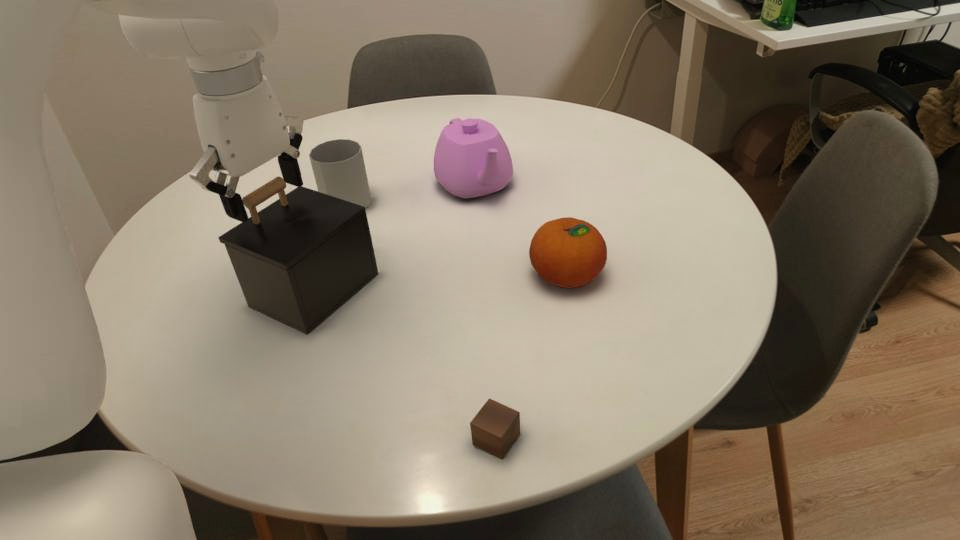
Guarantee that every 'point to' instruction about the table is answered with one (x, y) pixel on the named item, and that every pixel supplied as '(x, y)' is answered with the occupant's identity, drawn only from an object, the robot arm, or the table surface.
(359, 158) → the faceted grey tumbler
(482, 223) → the table surface
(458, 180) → the teapot
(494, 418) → the block
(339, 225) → the box lid
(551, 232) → the fruit
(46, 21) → the robot arm
